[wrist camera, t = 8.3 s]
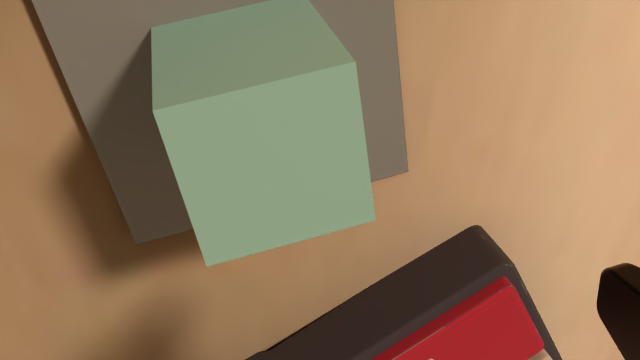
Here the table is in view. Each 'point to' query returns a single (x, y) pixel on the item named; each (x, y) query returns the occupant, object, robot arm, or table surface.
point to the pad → (136, 91)
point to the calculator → (432, 312)
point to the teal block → (261, 127)
